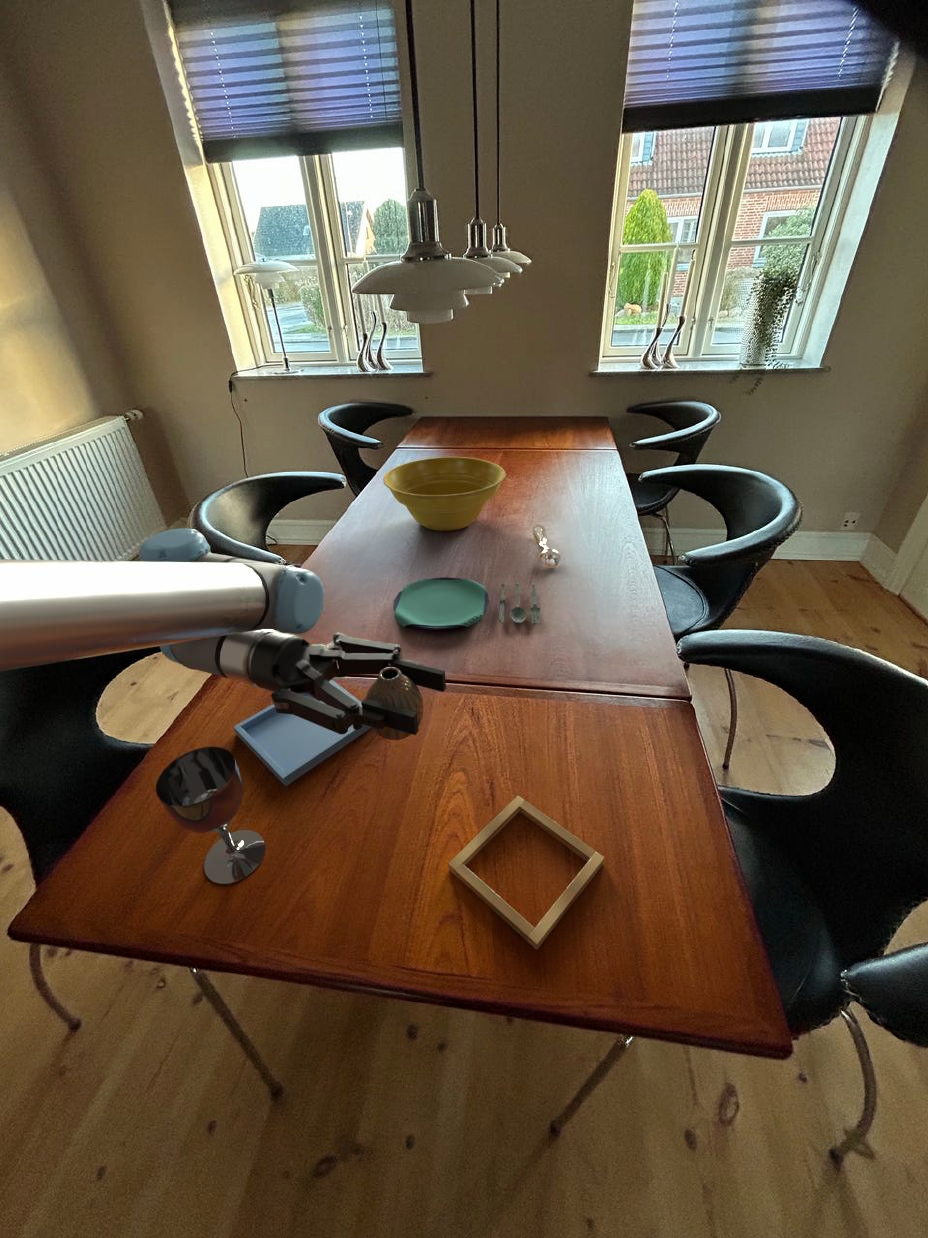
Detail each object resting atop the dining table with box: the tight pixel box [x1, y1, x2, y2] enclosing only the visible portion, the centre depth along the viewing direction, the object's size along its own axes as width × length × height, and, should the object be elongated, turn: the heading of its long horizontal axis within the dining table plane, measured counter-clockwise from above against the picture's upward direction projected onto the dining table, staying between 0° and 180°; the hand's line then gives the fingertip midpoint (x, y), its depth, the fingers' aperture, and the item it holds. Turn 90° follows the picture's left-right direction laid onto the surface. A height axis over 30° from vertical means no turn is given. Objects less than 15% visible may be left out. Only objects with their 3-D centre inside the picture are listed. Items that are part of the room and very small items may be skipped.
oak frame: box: [447, 795, 605, 950], centre depth 62 cm, size 13×13×1 cm
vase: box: [365, 667, 424, 741], centre depth 63 cm, size 7×7×9 cm
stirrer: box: [531, 524, 562, 568], centre depth 130 cm, size 20×4×5 cm
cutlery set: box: [393, 576, 541, 631], centre depth 109 cm, size 20×30×2 cm, turn 86°
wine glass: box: [155, 746, 266, 885], centre depth 61 cm, size 8×8×15 cm
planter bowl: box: [382, 456, 506, 532], centre depth 143 cm, size 32×32×13 cm
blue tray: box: [232, 679, 372, 787], centre depth 82 cm, size 17×15×2 cm
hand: (430, 701), depth 60 cm, fingers closed on vase, 7 cm apart
